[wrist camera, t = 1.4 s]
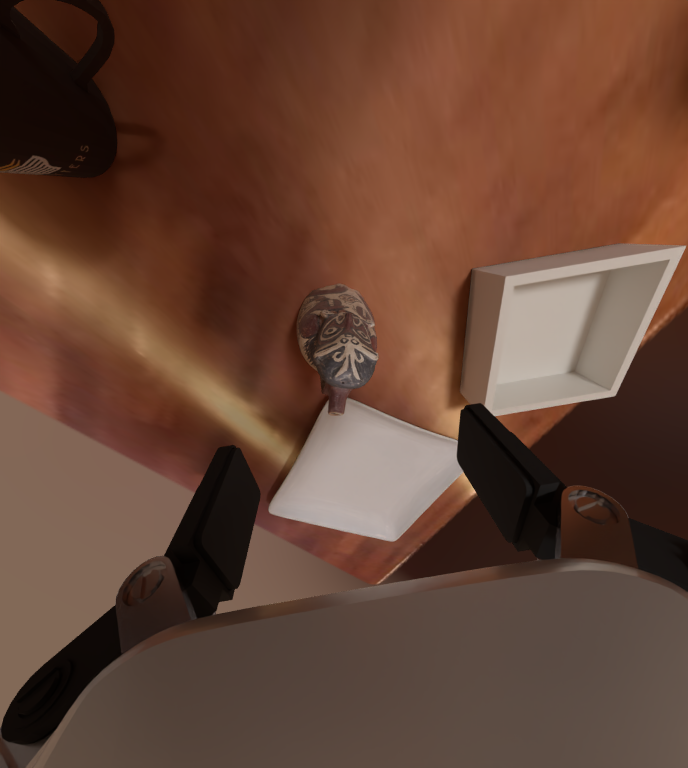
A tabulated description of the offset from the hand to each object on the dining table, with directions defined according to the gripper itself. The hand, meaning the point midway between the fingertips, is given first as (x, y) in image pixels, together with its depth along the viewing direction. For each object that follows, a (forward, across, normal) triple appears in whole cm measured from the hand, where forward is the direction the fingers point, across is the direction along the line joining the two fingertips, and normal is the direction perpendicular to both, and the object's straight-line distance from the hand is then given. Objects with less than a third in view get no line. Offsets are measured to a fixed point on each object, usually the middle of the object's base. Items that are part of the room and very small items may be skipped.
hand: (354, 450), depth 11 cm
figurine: (+17, 0, -1) cm, 17 cm away
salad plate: (+18, -1, +20) cm, 27 cm away
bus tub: (+17, -20, +3) cm, 26 cm away
